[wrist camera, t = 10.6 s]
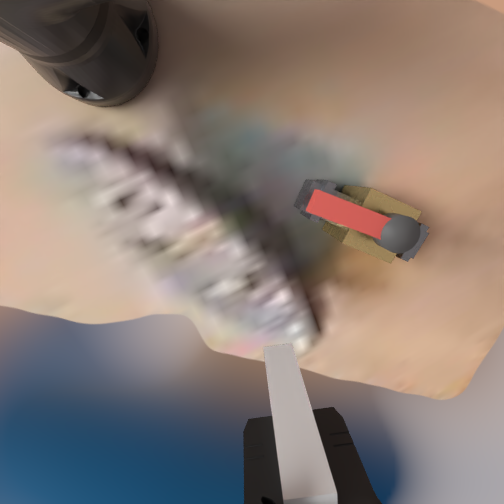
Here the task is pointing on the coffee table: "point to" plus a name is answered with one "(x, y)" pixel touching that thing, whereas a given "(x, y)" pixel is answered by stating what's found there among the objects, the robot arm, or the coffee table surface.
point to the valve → (369, 201)
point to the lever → (367, 221)
